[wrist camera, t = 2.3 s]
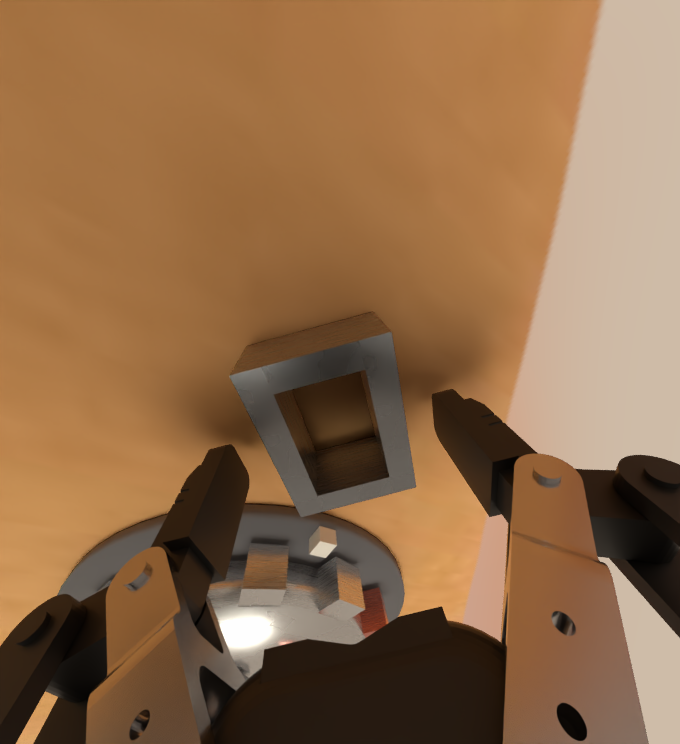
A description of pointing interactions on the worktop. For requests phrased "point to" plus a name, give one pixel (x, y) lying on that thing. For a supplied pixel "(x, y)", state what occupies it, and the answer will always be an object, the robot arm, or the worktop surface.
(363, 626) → the sprocket
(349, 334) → the chain link
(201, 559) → the robot arm
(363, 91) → the worktop surface
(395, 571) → the sprocket base
